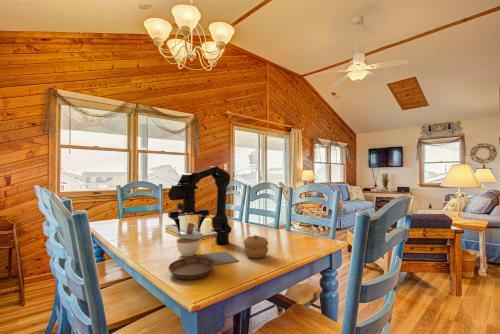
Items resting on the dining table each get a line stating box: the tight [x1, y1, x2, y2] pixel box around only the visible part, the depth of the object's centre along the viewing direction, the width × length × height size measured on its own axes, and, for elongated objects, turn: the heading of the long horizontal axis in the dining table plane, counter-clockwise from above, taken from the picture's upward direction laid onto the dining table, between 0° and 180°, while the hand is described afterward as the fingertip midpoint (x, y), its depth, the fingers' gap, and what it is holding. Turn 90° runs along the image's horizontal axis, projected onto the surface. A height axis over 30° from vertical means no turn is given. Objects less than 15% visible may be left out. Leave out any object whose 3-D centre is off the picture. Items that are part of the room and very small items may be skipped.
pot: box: [242, 234, 269, 259], centre depth 123 cm, size 12×12×10 cm
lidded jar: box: [176, 237, 200, 257], centre depth 126 cm, size 11×11×9 cm
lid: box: [175, 222, 204, 240], centre depth 126 cm, size 13×13×5 cm
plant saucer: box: [168, 256, 216, 281], centre depth 103 cm, size 18×18×3 cm
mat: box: [193, 250, 240, 267], centre depth 120 cm, size 16×16×1 cm
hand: (188, 231), depth 126 cm, fingers open, 9 cm apart
